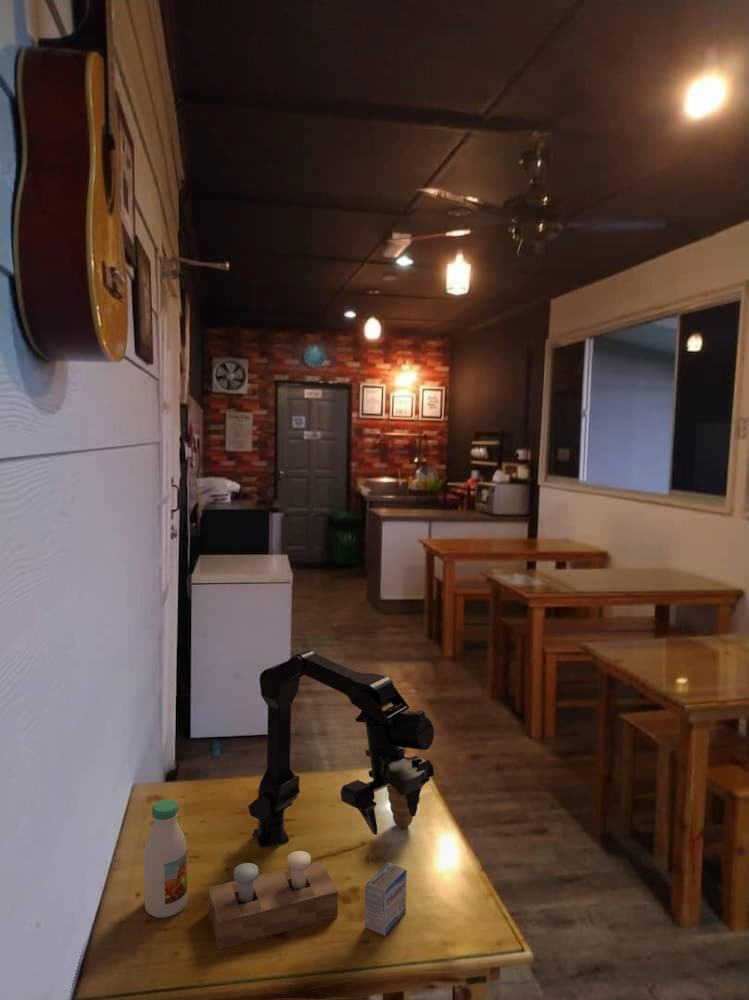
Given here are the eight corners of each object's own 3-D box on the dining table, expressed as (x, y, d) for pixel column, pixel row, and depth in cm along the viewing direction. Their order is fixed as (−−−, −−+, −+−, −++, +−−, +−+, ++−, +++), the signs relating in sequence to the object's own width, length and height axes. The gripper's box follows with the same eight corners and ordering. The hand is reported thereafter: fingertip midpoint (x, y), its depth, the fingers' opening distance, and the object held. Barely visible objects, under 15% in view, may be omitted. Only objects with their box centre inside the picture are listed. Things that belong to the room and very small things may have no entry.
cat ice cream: (423, 836, 154) (425, 759, 152) (389, 839, 153) (390, 761, 151) (415, 814, 163) (417, 741, 161) (383, 816, 162) (384, 743, 160)
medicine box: (384, 937, 124) (385, 892, 123) (363, 927, 126) (364, 883, 125) (406, 912, 130) (407, 868, 129) (386, 903, 133) (387, 860, 132)
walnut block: (208, 912, 129) (208, 887, 128) (320, 883, 138) (320, 860, 137) (218, 949, 120) (218, 923, 119) (337, 916, 129) (337, 891, 128)
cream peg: (284, 881, 131) (284, 853, 131) (306, 875, 133) (306, 848, 133) (290, 895, 127) (291, 867, 127) (313, 889, 129) (313, 862, 129)
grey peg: (231, 894, 127) (231, 866, 127) (255, 888, 129) (255, 860, 129) (236, 909, 123) (236, 880, 123) (260, 903, 125) (260, 874, 125)
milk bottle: (148, 924, 126) (146, 820, 124) (141, 898, 132) (139, 799, 130) (191, 911, 129) (190, 810, 127) (182, 887, 136) (181, 790, 134)
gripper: (366, 770, 121) (379, 858, 121) (446, 737, 132) (458, 818, 132) (334, 756, 130) (345, 838, 130) (411, 727, 141) (421, 802, 141)
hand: (394, 824), depth 133 cm, fingers open, 9 cm apart
